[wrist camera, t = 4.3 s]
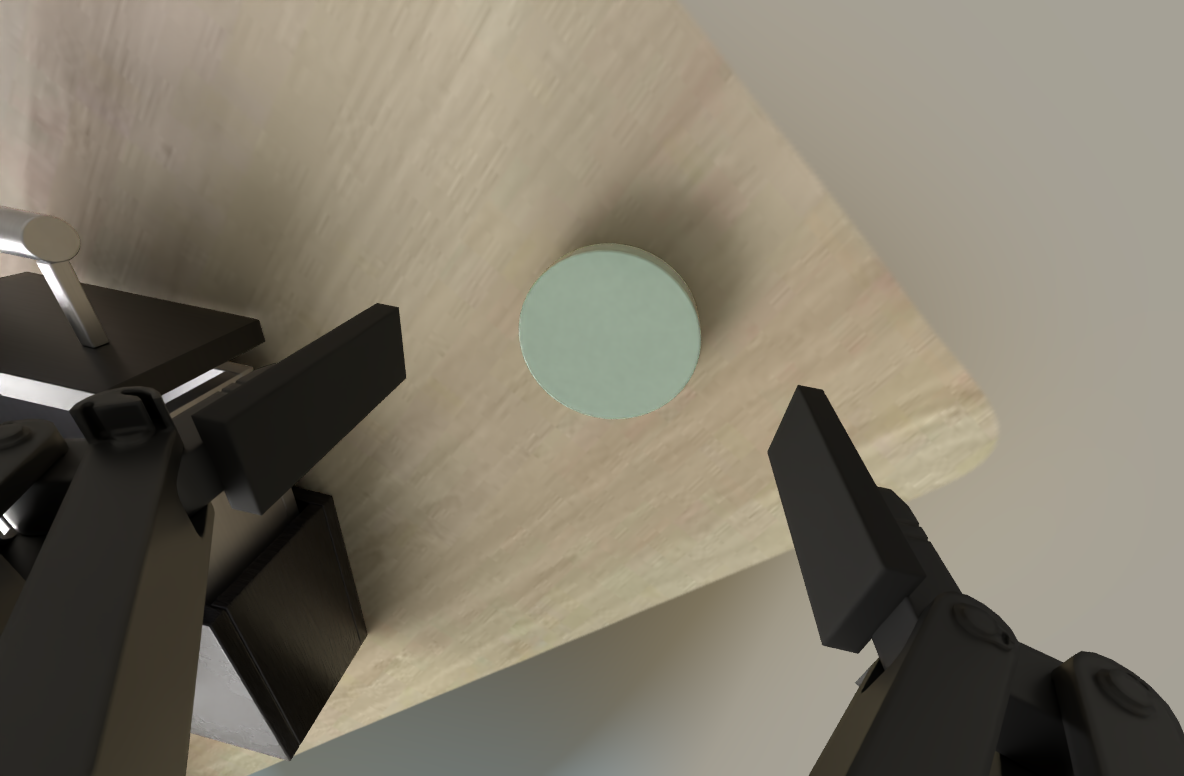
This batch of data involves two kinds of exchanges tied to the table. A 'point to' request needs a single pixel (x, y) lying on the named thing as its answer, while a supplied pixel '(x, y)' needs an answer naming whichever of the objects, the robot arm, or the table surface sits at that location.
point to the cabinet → (280, 637)
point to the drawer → (119, 362)
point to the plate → (610, 331)
